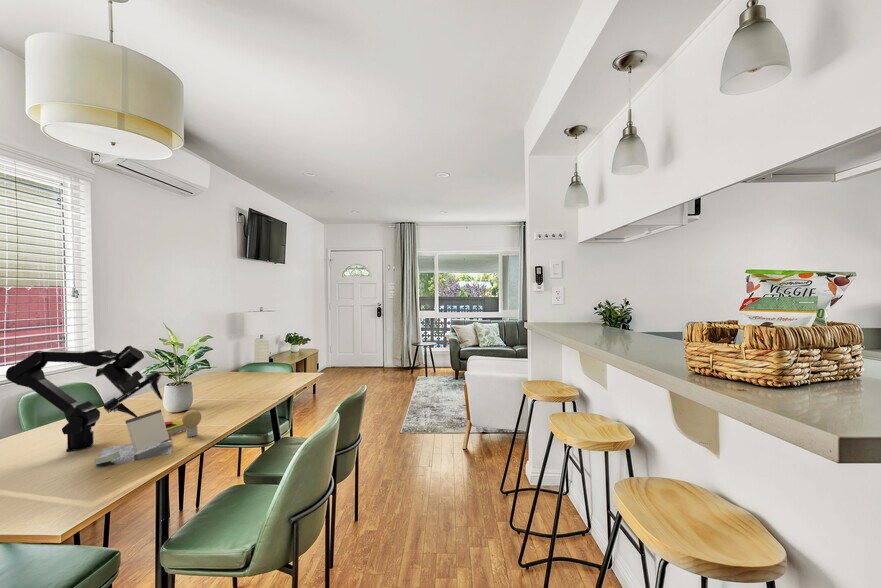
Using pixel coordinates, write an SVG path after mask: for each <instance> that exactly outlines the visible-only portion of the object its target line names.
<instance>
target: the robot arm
mask: <svg viewBox="0 0 881 588" xmlns="http://www.w3.org/2000/svg"><path fill="white" fill-rule="evenodd" d="M143 359H145V354H144V353H143V351H141V350H139V349H138V348H136V347H133V346H132V345H127V346H126V347H124V349H122V350H121V351H120V352H114V351H112V349H110V348H100V349H92V350H86V351H83V350H55V349H54V350H52V349H41V350H37V351H34V352H33V353H32V354H31V355H29V356H27V357H26V358H24V359H22V360H20V361H19V362H18V363H16V364H14V365H11V366H10V367H8V368H7V370H6V371H5V378H6V379H7V380H8V381H10V382H11V383H13V384H15V385H17V386H21V387H25V388H29V389H31V390H32V391H33V392H36V394H38V395H39V396H41V397H42V398H43V399H45V400H46V401H48V402H49V403H50V404H51V405H53V406H54V407H56V408H57V409H59V410H60V411H61V412H63V414H64V416H65V419H66V421H67V423H66V424H65V425H64V426H63V427H62V428H61V432H62V434H63V435H67V436H66V437H67V444H66V445H67V446H66V447H67V448H66V452H72V451H77V450H78V451H79V450H83V449H89V448H91V447H92V445H93V444H94V442H95V440H94V439H95V437H94V436H95V435H94V433H95V432H94V431H93V429H92V428H93V427H95V426H96V425H97V422H98V421H99V419H100V417H101V412H100V410H99V409H98V408H99V407H98V406H96V405H94V404H93V403H92V402H91V401H90V400H87V401H85V402H79V401H78V400H76V399H75V398H73V397H72V396H71V395H69V394H67V392H65V391H63V390H62V389H61V388H60V387H59V386H57V385H56V384H54V383H53V382H51V381H50V380H49V379H47V378H46V376H45V374H44V370H43V369H44V368H45V367H46V366H47V364H48V362H49V363H78V364H81V365H84V366H89V367H94V368H95V367H100V368H96V373H95V377H97V378H98V377H101V376H104V377H105V378H106V379H107V380H108V381H109V382H110V383H111V384H112V385H113V386H114V387H115V388H116V389H117V390H118V391H119V393H121V395H120V396H119V397H117V398H116V397H113V398H111V399H110V400H108V401H106V402H105V403H104V404H103V409H104V410H105V412H107V413H108V414H110V413H111V412H114V413H115V412H121V413H124V414H127V415H129V416H131V417H132V418H135V417H138V415H137V414H135V413H134V412H133V411H132V410H131V409H130V408H128V407H127V406H125V404H124V403H123V401H125V400H127V399H128V398H129V397H131V396H132V395H134V394H136V393H137V392H138V391H140V390H141V389H143V388H145V387H146V386H147V385H149V387H150V389H151V390H152V391H153V393H154V394H155V395H156V396H157V397H158V399H160V401H162V400H163V397H162V394H161V392H160V390H159V386H158V383H159V381H160V379H161V378H162V375H161V374H160V373H159V372H158V371H155V370H154V371H153V372H151V373H150V374H148V375H146V376H145V378H144V375H142V374H141V372H139V370H136V371H134V372H132V373H131V374H130V373H129V371H127V370H130V369H132V368H133V367H134V366H135V365H137V364H138V363H139V362H140V361H142V360H143ZM101 366H103V367H101ZM143 378H144V380H143V381H142V382H140V380H142V379H143Z"/></svg>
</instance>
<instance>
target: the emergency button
mask: <svg viewBox="0 0 881 588" xmlns="http://www.w3.org/2000/svg"><path fill="white" fill-rule="evenodd" d="M164 422H165V425H166V429H167V432H168V433H170V434H171V436H173V435H176V434H179V433H181V432H180V431H182V432H184V431H183V430H185V431H186V429H187V427H186V426H185V425H184V424H183V422H182V420H176V419H173V420H170V421H169V420H168V421H164ZM178 432H179V433H178ZM175 433H176V434H175Z"/></svg>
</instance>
